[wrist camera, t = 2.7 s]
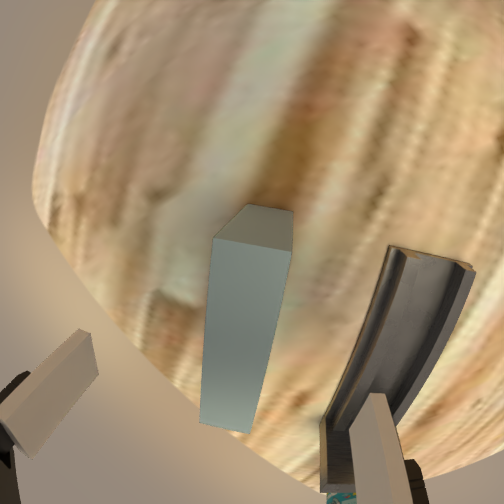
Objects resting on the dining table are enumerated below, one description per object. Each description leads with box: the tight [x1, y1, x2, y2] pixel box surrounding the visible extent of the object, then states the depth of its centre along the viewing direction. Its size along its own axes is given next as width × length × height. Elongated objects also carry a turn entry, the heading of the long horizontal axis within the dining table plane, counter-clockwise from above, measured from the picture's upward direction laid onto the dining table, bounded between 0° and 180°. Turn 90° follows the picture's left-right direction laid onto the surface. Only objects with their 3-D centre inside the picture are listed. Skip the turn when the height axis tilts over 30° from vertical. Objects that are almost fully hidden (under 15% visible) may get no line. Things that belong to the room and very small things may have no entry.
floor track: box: [319, 245, 476, 493], centre depth 18 cm, size 20×8×9 cm, turn 172°
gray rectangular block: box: [200, 204, 293, 434], centre depth 18 cm, size 12×3×9 cm, turn 172°
